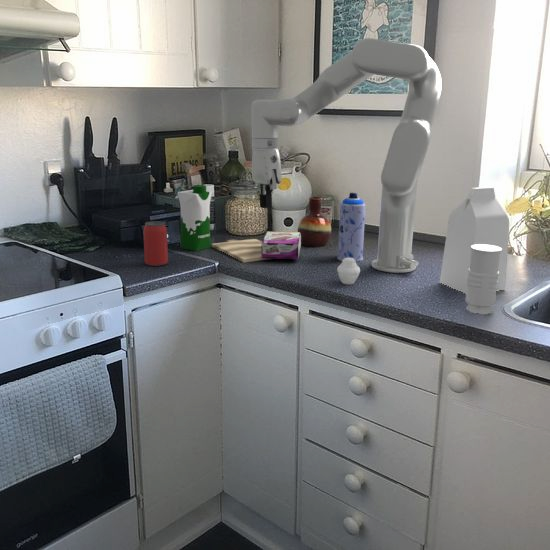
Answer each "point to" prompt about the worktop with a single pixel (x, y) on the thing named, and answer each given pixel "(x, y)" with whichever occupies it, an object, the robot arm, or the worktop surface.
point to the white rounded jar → (348, 271)
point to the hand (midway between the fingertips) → (265, 207)
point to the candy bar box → (281, 245)
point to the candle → (482, 278)
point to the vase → (314, 225)
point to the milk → (474, 237)
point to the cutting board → (242, 249)
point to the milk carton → (195, 218)
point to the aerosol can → (351, 228)
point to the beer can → (155, 243)
